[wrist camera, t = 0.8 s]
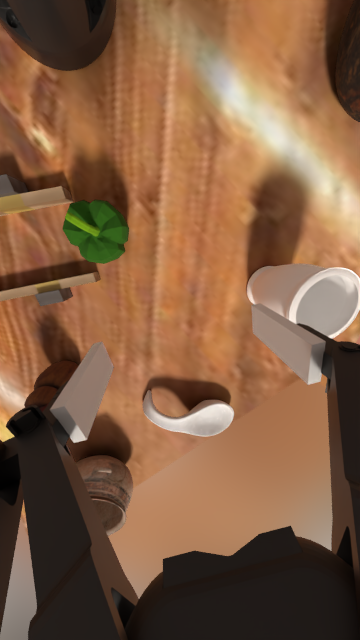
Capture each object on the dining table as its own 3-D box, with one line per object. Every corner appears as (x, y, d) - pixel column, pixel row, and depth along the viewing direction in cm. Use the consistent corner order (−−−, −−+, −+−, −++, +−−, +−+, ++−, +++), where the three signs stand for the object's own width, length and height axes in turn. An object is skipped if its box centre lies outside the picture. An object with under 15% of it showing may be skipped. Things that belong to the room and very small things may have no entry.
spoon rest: (236, 396, 48) (248, 419, 42) (218, 426, 52) (227, 452, 46) (151, 377, 43) (150, 401, 37) (138, 412, 47) (135, 440, 40)
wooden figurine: (84, 357, 39) (43, 416, 25) (86, 378, 41) (49, 444, 27) (50, 355, 38) (-12, 416, 24) (54, 377, 40) (-2, 445, 26)
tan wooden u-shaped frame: (-71, 200, 27) (-102, 193, 24) (63, 175, 27) (51, 166, 24) (-3, 311, 34) (-20, 318, 30) (104, 289, 34) (98, 294, 31)
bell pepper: (143, 241, 32) (136, 239, 23) (108, 269, 33) (88, 277, 24) (110, 195, 29) (87, 170, 20) (72, 227, 30) (33, 217, 21)
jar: (234, 274, 36) (282, 290, 22) (283, 251, 35) (363, 252, 21) (249, 318, 40) (297, 355, 26) (293, 298, 39) (366, 325, 25)
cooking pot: (122, 490, 58) (113, 548, 47) (59, 484, 54) (33, 546, 42) (148, 438, 51) (144, 493, 39) (77, 426, 46) (51, 483, 35)
